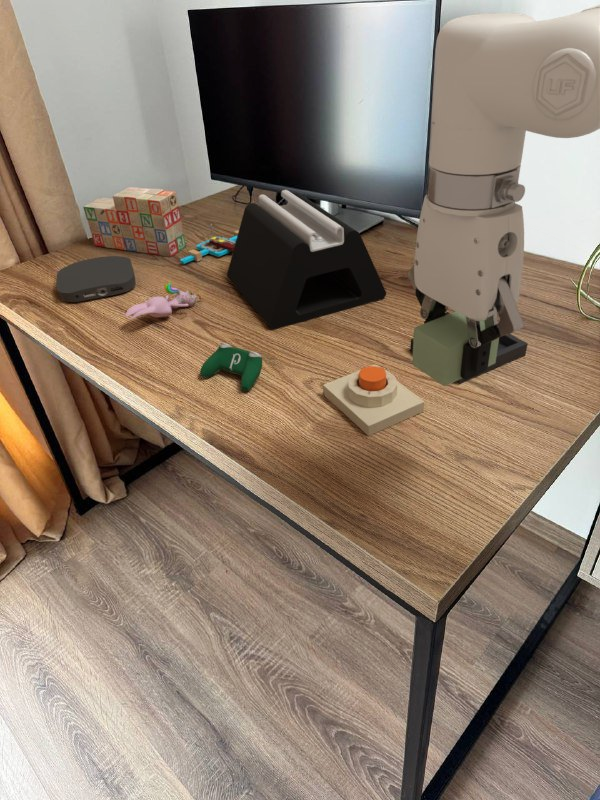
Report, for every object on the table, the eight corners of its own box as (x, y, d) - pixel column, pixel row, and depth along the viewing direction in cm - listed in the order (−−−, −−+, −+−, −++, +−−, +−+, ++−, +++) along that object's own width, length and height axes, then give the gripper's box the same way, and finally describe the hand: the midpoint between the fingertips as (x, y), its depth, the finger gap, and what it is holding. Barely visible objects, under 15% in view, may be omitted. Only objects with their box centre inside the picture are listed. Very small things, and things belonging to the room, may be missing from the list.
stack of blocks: (93, 246, 134) (78, 192, 127) (111, 236, 138) (97, 183, 131) (171, 257, 126) (159, 199, 119) (187, 246, 131) (176, 190, 123)
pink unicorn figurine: (187, 301, 112) (118, 322, 102) (185, 271, 109) (114, 289, 99) (208, 311, 108) (139, 332, 98) (207, 279, 105) (136, 298, 95)
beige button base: (423, 411, 78) (425, 390, 76) (368, 436, 75) (368, 414, 73) (375, 373, 86) (375, 353, 84) (323, 394, 83) (322, 374, 81)
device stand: (269, 330, 98) (260, 245, 89) (227, 280, 115) (216, 204, 106) (386, 298, 105) (388, 215, 96) (329, 254, 122) (327, 181, 113)
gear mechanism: (269, 240, 130) (240, 231, 136) (266, 216, 127) (237, 208, 132) (199, 271, 119) (171, 261, 124) (194, 246, 116) (166, 236, 121)
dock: (525, 355, 87) (528, 343, 86) (459, 384, 83) (460, 372, 81) (473, 325, 95) (474, 314, 94) (409, 350, 91) (410, 338, 89)
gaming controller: (258, 396, 86) (272, 358, 87) (245, 391, 83) (259, 351, 83) (210, 380, 91) (223, 344, 91) (196, 374, 87) (210, 336, 88)
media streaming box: (132, 263, 125) (128, 250, 123) (138, 292, 113) (134, 278, 111) (61, 276, 122) (56, 263, 120) (60, 307, 110) (55, 292, 108)
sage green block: (495, 363, 61) (501, 325, 58) (444, 386, 58) (447, 348, 56) (461, 343, 65) (465, 307, 62) (411, 364, 62) (413, 327, 59)
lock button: (391, 386, 78) (391, 375, 77) (369, 395, 77) (369, 384, 76) (375, 373, 81) (375, 363, 80) (353, 382, 79) (353, 371, 78)
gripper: (585, 199, 46) (544, 387, 57) (438, 157, 58) (427, 319, 69) (517, 222, 43) (487, 415, 54) (376, 173, 55) (375, 339, 66)
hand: (453, 360), depth 61 cm, fingers closed on sage green block, 5 cm apart
